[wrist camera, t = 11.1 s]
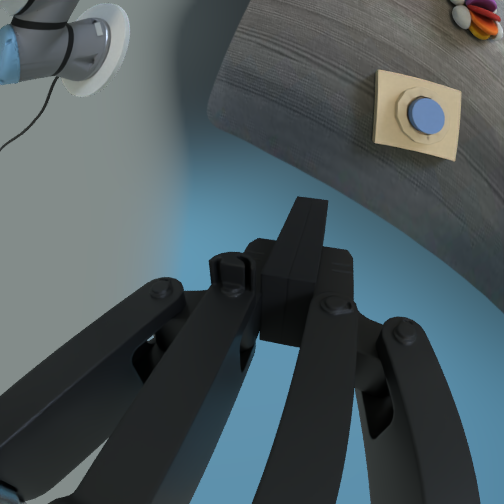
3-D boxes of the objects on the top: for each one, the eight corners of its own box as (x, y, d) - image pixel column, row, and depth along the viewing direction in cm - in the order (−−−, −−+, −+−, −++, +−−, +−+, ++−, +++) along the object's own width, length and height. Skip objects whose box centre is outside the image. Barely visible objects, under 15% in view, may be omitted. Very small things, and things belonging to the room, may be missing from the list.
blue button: (406, 128, 27) (410, 129, 25) (408, 94, 24) (413, 94, 23) (437, 136, 25) (443, 138, 24) (440, 103, 23) (446, 103, 21)
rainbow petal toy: (453, 33, 19) (473, 22, 13) (439, -18, 14) (454, -35, 8) (497, 49, 17) (520, 43, 11) (484, -2, 12) (504, -13, 6)
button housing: (372, 140, 32) (376, 144, 29) (375, 72, 27) (380, 67, 24) (448, 157, 29) (460, 164, 26) (454, 92, 24) (466, 91, 20)
